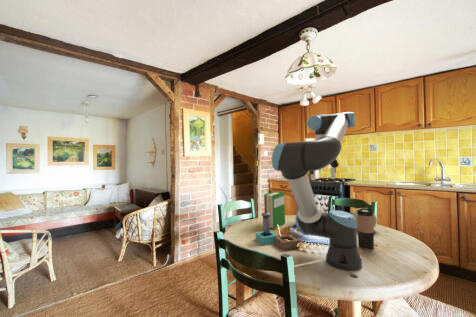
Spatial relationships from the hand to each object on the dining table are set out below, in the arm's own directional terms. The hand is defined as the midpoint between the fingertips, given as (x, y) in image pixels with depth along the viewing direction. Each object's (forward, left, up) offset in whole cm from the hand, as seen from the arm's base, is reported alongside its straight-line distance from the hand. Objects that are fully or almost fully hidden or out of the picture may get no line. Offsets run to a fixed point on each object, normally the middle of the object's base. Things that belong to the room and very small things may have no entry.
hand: (323, 179), depth 127 cm
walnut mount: (+3, +23, -37) cm, 43 cm away
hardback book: (+41, +10, -37) cm, 56 cm away
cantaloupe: (+9, -39, -37) cm, 54 cm away
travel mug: (-12, -17, -37) cm, 42 cm away
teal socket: (+14, +30, -37) cm, 49 cm away
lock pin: (+14, +30, -36) cm, 49 cm away
